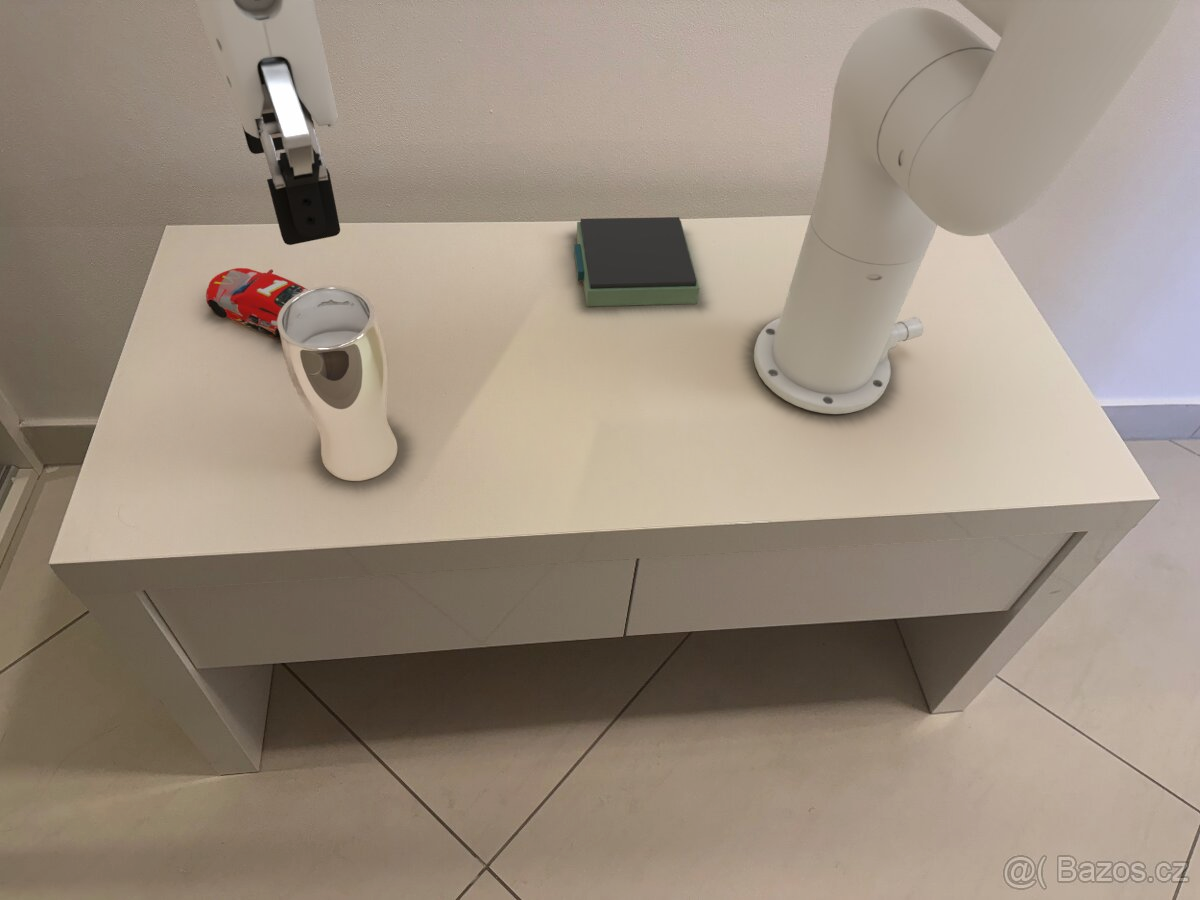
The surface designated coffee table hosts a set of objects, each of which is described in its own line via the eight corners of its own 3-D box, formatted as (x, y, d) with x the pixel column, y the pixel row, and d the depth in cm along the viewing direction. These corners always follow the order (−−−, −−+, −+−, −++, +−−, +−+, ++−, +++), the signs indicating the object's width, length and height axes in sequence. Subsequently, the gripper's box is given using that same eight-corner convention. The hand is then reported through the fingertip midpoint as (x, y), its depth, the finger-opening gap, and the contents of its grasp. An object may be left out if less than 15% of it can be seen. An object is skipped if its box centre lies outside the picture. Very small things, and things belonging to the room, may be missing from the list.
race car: (198, 309, 81) (184, 275, 78) (239, 277, 84) (228, 244, 81) (310, 360, 77) (300, 327, 74) (348, 325, 80) (340, 291, 77)
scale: (678, 235, 92) (681, 215, 90) (696, 303, 85) (700, 283, 83) (570, 237, 91) (571, 216, 89) (580, 307, 84) (581, 286, 82)
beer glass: (385, 493, 68) (355, 359, 57) (302, 476, 69) (255, 340, 57) (414, 429, 73) (392, 292, 61) (336, 414, 73) (299, 276, 62)
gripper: (348, -73, 35) (395, 262, 48) (262, -200, 45) (321, 109, 58) (152, -56, 33) (257, 293, 46) (105, -193, 42) (204, 128, 55)
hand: (293, 190), depth 52 cm, fingers open, 9 cm apart
